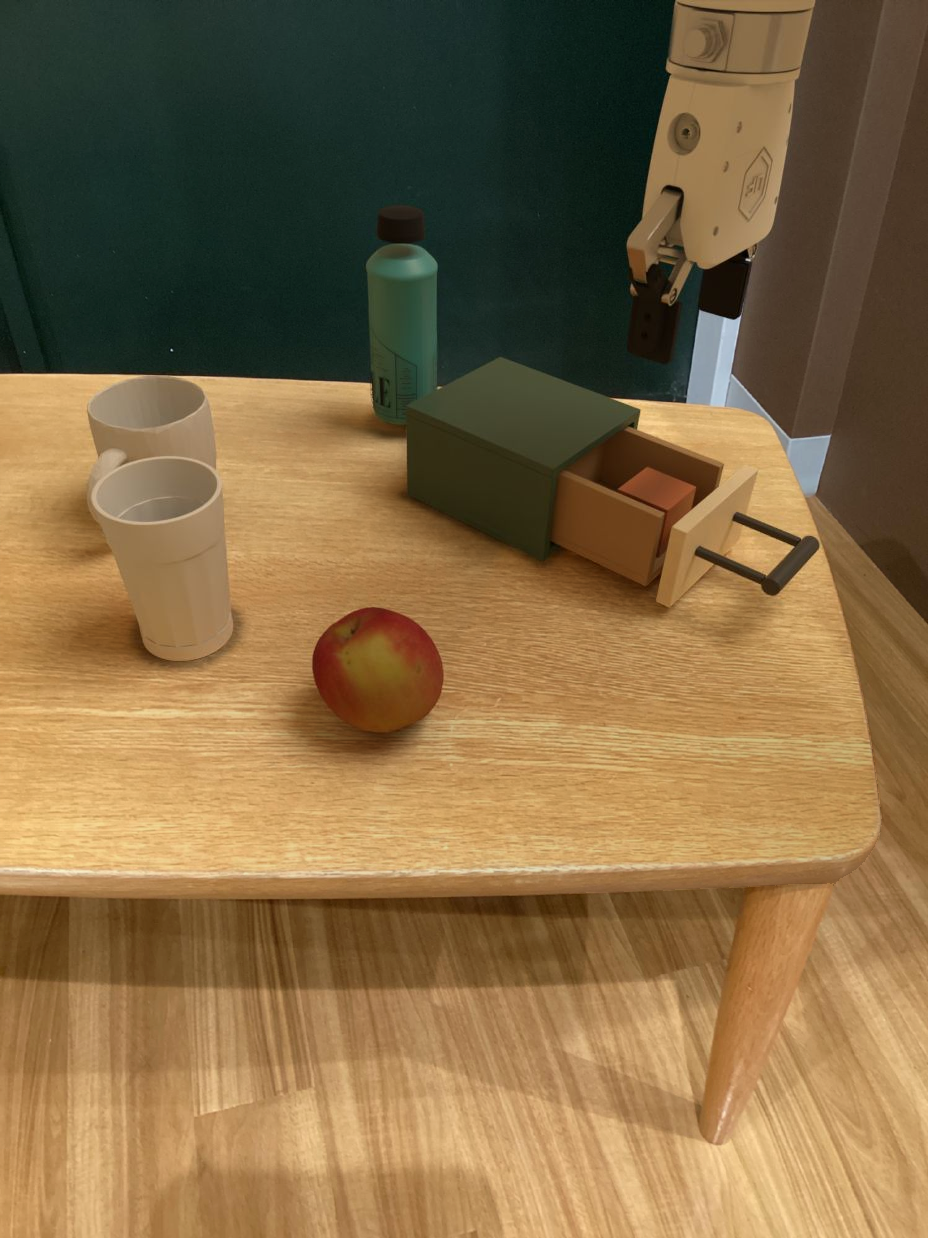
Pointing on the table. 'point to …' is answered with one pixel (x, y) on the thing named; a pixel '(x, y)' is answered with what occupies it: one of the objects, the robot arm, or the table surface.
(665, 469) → the drawer
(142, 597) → the cup
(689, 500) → the block
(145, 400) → the mug
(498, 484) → the cabinet
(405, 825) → the table surface
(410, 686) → the apple
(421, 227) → the beverage bottle
